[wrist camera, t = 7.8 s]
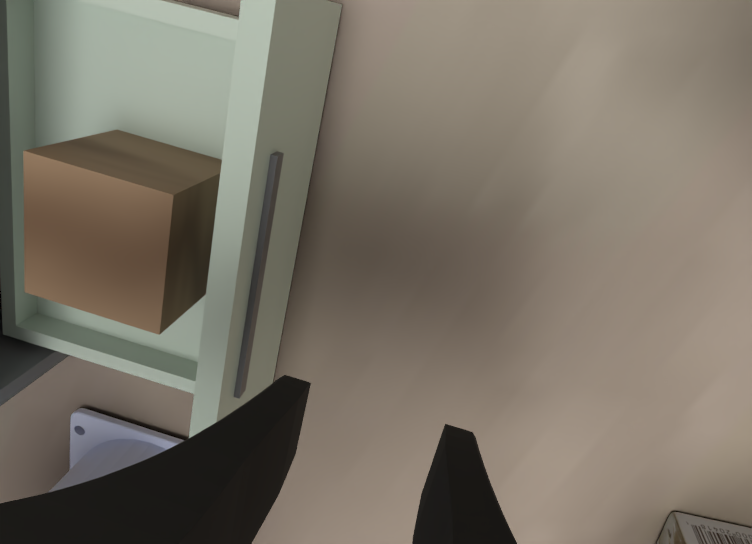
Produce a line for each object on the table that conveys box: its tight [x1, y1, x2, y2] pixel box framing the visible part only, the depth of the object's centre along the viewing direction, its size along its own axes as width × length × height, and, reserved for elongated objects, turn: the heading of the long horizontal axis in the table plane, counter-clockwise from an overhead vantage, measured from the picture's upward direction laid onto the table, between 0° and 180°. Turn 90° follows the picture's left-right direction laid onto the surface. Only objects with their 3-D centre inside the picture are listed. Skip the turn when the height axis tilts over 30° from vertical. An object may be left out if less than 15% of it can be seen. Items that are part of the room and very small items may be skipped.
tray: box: [0, 0, 342, 438], centre depth 19 cm, size 16×11×6 cm
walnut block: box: [23, 130, 222, 335], centre depth 19 cm, size 5×5×4 cm
